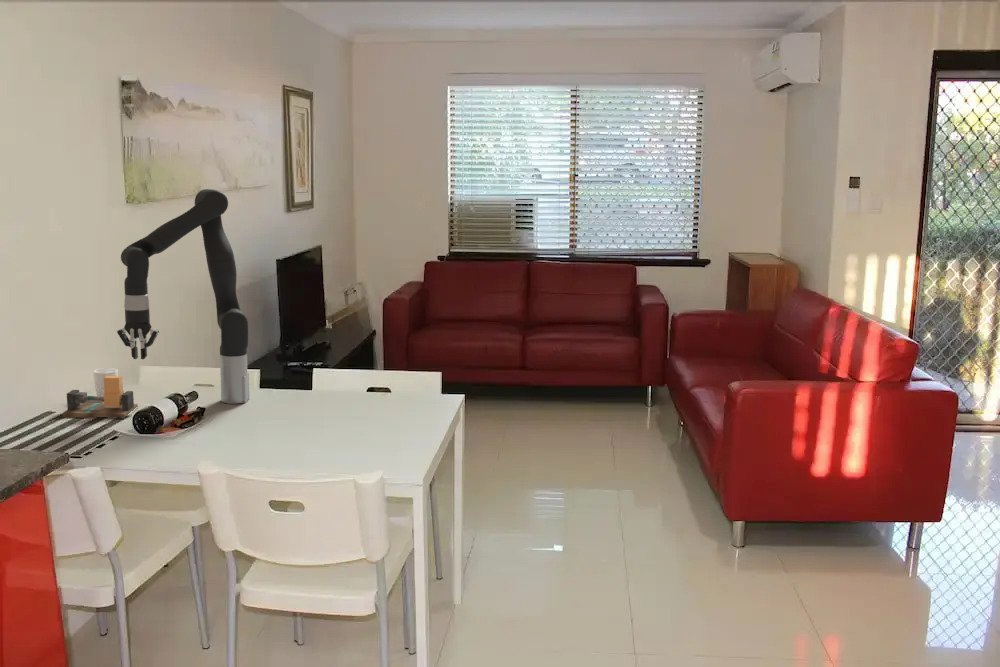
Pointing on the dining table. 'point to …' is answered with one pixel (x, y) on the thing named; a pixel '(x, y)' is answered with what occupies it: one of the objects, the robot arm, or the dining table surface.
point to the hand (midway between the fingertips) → (139, 358)
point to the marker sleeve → (113, 391)
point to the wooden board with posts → (97, 405)
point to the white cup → (102, 378)
